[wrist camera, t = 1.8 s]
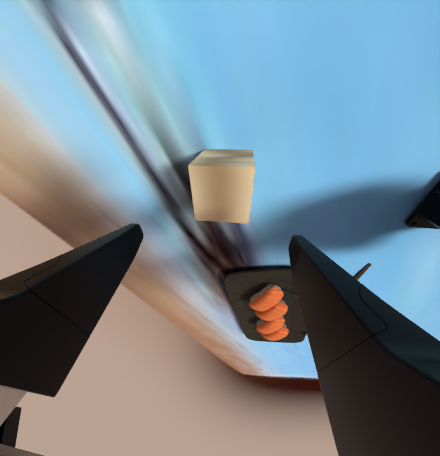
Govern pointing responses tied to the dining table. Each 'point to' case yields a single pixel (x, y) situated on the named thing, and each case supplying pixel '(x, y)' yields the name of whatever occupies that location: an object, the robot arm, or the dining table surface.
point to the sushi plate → (268, 304)
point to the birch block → (222, 185)
